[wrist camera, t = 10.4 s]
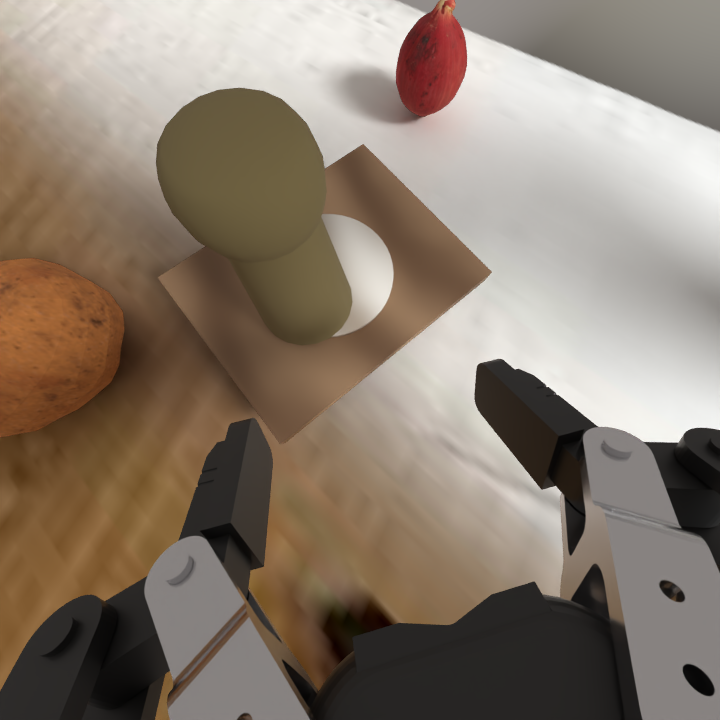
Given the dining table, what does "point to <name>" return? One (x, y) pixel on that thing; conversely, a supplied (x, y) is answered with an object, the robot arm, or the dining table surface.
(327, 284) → the olive pepper mill
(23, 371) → the potato
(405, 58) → the onion
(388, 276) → the wooden stand
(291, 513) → the dining table surface
